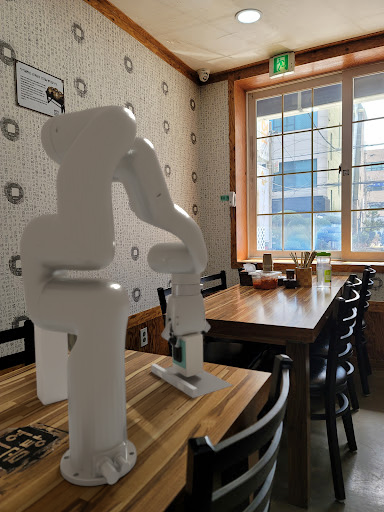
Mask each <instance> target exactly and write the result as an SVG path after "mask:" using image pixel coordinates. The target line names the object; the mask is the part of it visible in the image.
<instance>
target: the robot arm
mask: <svg viewBox="0 0 384 512" xmlns="http://www.w3.org/2000/svg"><path fill="white" fill-rule="evenodd" d="M137 126H138V125H137V120H136V116H135V114H133V112H132V111H131V110H130V109H128V108H127V107H125V106H122V105H115V104H114V105H103V106H102V105H101V106H97V107H91V108H86V109H85V108H84V109H81V110H78V111H77V110H76V111H71V112H66V113H61V114H57V115H54V116H52V117H49V118H48V119H47V120H46V121H45V122H43V125H42V126H41V130H40V143H41V146H42V149H43V150H44V152H45V154H46V155H47V157H49V158H50V160H52V161H53V162H54V163H56V164H57V165H59V167H58V170H57V174H56V179H55V180H56V184H55V189H56V207H57V208H56V209H57V212H56V213H50V214H49V213H48V214H42V215H39V216H35V217H34V218H32V219H31V220H30V221H29V222H28V223H27V224H26V226H25V227H24V229H23V230H22V233H21V237H20V240H19V241H20V242H19V255H20V256H19V257H20V266H21V275H22V282H23V284H22V285H23V291H24V298H25V306H26V310H27V313H28V316H29V319H30V320H31V322H32V323H33V325H34V324H35V325H36V326H37V327H39V328H41V329H43V330H47V331H53V332H61V333H70V334H75V335H77V340H76V343H75V345H74V346H73V348H72V350H71V352H70V351H69V353H68V360H67V393H68V399H67V415H68V419H67V421H68V436H69V437H68V442H69V449H67V450H66V452H64V453H63V455H62V457H61V458H60V466H59V467H60V468H59V469H60V473H61V476H62V477H63V479H64V480H66V481H67V482H68V483H71V484H74V485H77V486H84V487H93V486H95V487H96V486H101V485H104V484H108V485H113V484H116V483H117V482H118V480H120V478H122V477H124V476H125V475H127V474H128V473H129V472H131V470H132V469H133V468H134V466H135V464H136V463H137V447H136V446H135V445H134V443H133V442H132V441H131V440H129V439H128V424H127V423H128V422H127V420H128V419H127V391H126V388H127V387H126V385H127V384H126V351H125V350H126V336H127V335H126V334H127V327H128V322H129V315H130V306H131V305H130V297H129V294H128V292H127V291H126V289H125V288H124V287H123V286H122V285H121V284H120V283H118V282H116V281H114V280H111V279H108V278H100V277H82V276H81V277H69V271H77V272H79V271H80V272H83V271H84V272H85V271H89V272H90V271H91V272H92V271H100V270H103V269H105V268H108V266H110V265H111V264H112V262H114V259H115V255H116V233H115V222H114V209H113V195H112V193H113V191H112V188H113V187H112V186H113V183H121V184H122V186H123V188H124V190H125V193H126V196H127V198H128V200H129V203H130V205H131V208H132V210H133V212H134V216H136V218H137V219H139V220H140V221H142V222H143V223H145V224H148V225H150V226H153V227H156V228H158V229H161V230H163V231H165V232H167V233H170V234H172V235H173V236H175V237H176V238H178V239H179V240H180V241H181V242H178V241H176V242H158V243H156V244H154V245H152V246H151V247H150V249H149V250H148V252H147V255H146V258H147V265H148V267H149V268H150V270H152V271H153V272H155V273H158V274H162V275H163V274H165V275H171V277H170V278H171V283H170V284H171V295H169V296H168V299H167V303H166V304H167V305H166V311H165V312H166V313H165V328H164V329H163V331H162V332H161V334H160V336H161V338H163V339H164V340H166V341H167V342H168V343H169V344H170V345H171V346H172V345H173V358H174V360H175V361H177V362H179V363H180V362H182V347H180V343H181V339H182V335H187V334H192V333H199V334H202V335H203V339H204V338H205V336H206V335H207V333H208V331H209V330H210V329H211V325H210V324H209V322H208V321H207V320H206V308H205V301H204V297H203V294H202V293H201V291H202V289H204V284H203V283H201V273H203V272H205V270H206V267H208V261H209V260H208V259H209V258H208V257H209V256H208V250H207V245H206V241H205V239H204V234H203V231H202V230H201V228H200V226H199V225H198V223H197V222H196V221H195V220H194V218H192V217H191V216H190V215H189V214H188V213H187V211H185V210H184V209H182V208H181V207H180V206H179V205H177V204H176V203H175V202H174V201H173V199H172V197H171V194H170V190H169V188H168V185H167V182H166V178H165V176H164V173H163V169H162V167H161V164H160V161H159V158H158V155H157V151H156V149H155V147H154V145H153V144H152V142H151V141H150V140H149V139H147V138H144V137H142V136H141V137H140V136H137V132H138V131H137V129H138V127H137ZM172 333H173V334H172ZM170 334H171V335H170Z"/></svg>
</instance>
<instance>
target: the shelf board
mask: <svg viewBox="0 0 384 512" xmlns="http://www.w3.org/2000/svg"><path fill="white" fill-rule="evenodd" d="M150 365H151V366H150V368H151V369H150V370H151V371H150V372H151V373H152V374H154V375H155V376H157V377H158V378H161V379H162V380H164V381H165V382H167V384H170V385H172V386H173V387H175V388H176V389H177V390H179V391H181V392H183V393H184V394H185V395H187V396H188V397H190V398H192V399H195V398H199V397H202V396H204V395H207V394H211V393H215V392H217V391H220V390H223V389H226V388H229V387H232V386H234V384H232V383H230V382H228V381H226V380H224V379H222V378H221V377H218V376H216V375H214V374H212V373H210V372H208V371H207V370H204V369H203V373H200V374H197V375H193V376H190V377H186V376H184V375H182V374H181V373H179V372H177V371H175V370H173V365H172V366H169V367H164V368H163V367H162V366H160V365H158V364H157V363H151V364H150Z"/></svg>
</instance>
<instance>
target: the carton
mask: <svg viewBox="0 0 384 512" xmlns="http://www.w3.org/2000/svg"><path fill="white" fill-rule="evenodd" d="M172 334H173V333H171V335H172ZM203 339H204V338H203V335H202V334H199V333H192V334H187V335H182V339H181V343H180V347H182V362H180V363H179V362H177V361H175V360H174V358H173V345H171V346H172V347H171V350H172V351H171V353H172V356H171V357H172V360H171V361H172V366H173V370H175V371H177V372H179V373H181V374H182V375H184V376H186V377H190V376H193V375H197V374H200V373H203V370H204V346H203V345H204V342H203V341H204V340H203Z"/></svg>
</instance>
